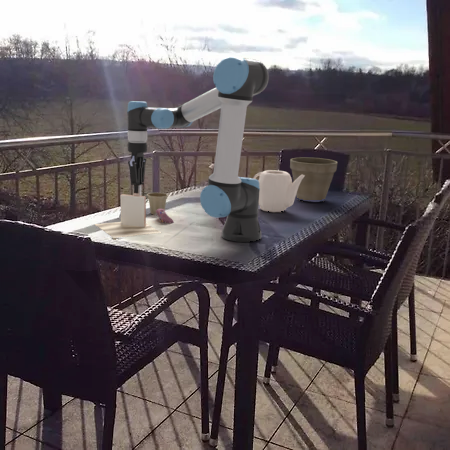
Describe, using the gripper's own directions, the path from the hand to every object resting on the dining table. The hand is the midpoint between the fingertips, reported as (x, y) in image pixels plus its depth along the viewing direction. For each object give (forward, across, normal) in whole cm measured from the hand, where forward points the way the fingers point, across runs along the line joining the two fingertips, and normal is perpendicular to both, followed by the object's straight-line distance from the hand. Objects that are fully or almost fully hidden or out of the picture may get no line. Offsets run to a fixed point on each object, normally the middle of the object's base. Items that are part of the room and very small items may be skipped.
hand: (137, 200), depth 205 cm
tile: (+9, +4, 0) cm, 10 cm away
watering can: (+10, -51, +49) cm, 72 cm away
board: (+10, +10, 0) cm, 14 cm away
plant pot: (+10, -87, +63) cm, 108 cm away
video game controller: (+10, -8, +8) cm, 16 cm away
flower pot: (+10, -23, 0) cm, 25 cm away
